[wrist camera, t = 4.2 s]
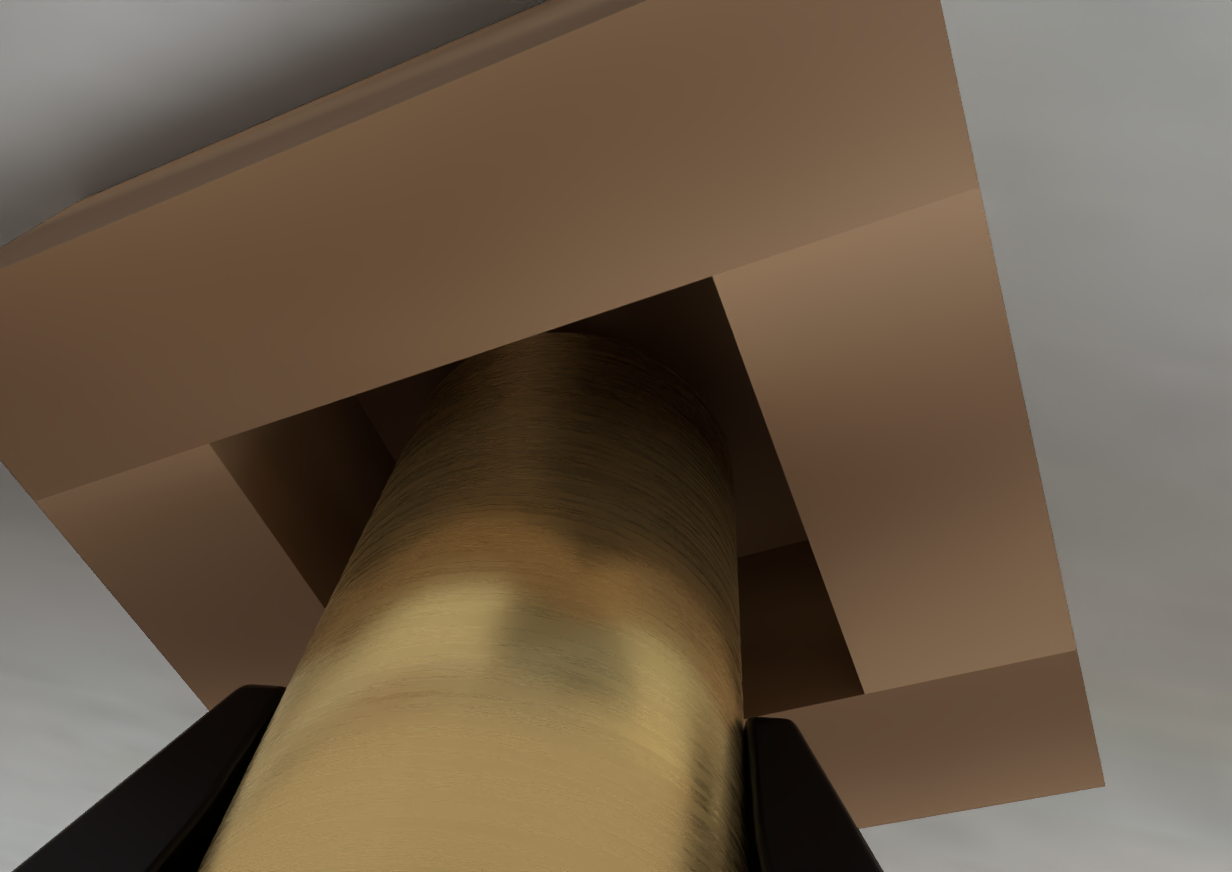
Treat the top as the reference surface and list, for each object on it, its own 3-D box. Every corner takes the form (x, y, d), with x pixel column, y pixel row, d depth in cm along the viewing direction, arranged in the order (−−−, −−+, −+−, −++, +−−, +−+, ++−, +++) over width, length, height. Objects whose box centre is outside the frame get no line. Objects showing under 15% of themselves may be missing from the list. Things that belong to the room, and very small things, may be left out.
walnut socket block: (1024, 590, 15) (1105, 786, 12) (434, 724, 17) (377, 911, 14) (853, -132, 10) (916, -111, 7) (77, 201, 12) (-120, 318, 10)
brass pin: (774, 559, 13) (853, 1419, 6) (495, 629, 14) (285, 1428, 7) (667, 286, 11) (598, 1083, 4) (353, 391, 12) (-131, 1166, 5)
